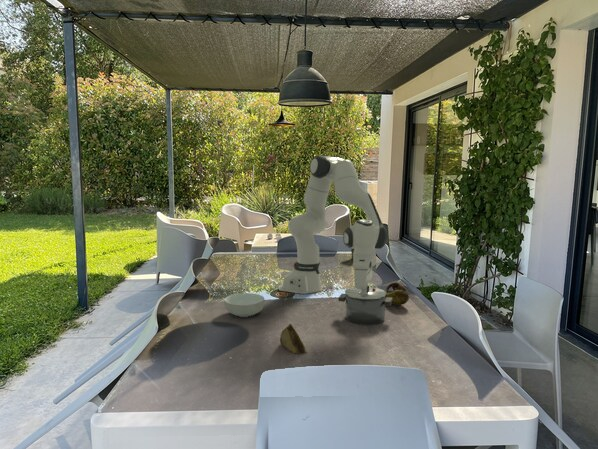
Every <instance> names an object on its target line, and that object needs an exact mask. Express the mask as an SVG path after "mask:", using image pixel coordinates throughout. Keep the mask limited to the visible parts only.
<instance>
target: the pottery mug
mask: <svg viewBox="0 0 598 449" xmlns="http://www.w3.org/2000/svg"><path fill="white" fill-rule="evenodd" d="M390 288H392V290H390ZM385 289H386V291H385V292H386V294H387V293H390V292H393V291H395V290H404V291H406V292H407V289H406V288H405V287H404V285H403V284H401V283H400V282H397V281H396V282H391V283H390V284H388V286H386V288H385Z"/></svg>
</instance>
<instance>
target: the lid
mask: <svg viewBox="0 0 598 449" xmlns="http://www.w3.org/2000/svg"><path fill="white" fill-rule="evenodd" d="M344 292H345V293H344V294H346V295H347V296H349V297H352V298H356V299H366V300H371V299H380V298H384V297H385V296H386V292H387V291H385V289H381V288H376V287H373V286H371V287H370V285H368V286H367V293H366V295H362V294H361V289H357V288H356V287H355V286H354V287H349V288H346V290H344Z"/></svg>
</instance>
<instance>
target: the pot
mask: <svg viewBox="0 0 598 449" xmlns="http://www.w3.org/2000/svg"><path fill="white" fill-rule="evenodd" d="M338 302H343V303H344V302H345V320H346V321H348V322H349V323H352V324H356V325H361V326H371V325H372V326H373V325H379V324H382V323H383V322H385V319H386V316H385V315H386V306H389V307H391V305H392V298H390V297H386V299H385V297H384V298H380V299H371V300H366V299H356V298H352V297H349V296H347V295H346V294H345V293H341V294H340V295H339V296H338Z"/></svg>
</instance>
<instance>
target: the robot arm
mask: <svg viewBox="0 0 598 449" xmlns="http://www.w3.org/2000/svg"><path fill="white" fill-rule="evenodd" d="M309 164H310V165H309V172H310V177H309V180H308V182H307V186H306V190H305V193H304V198H303V203H304V204H305V213H303V214H298V215H296V216H294V217H291V219H289V221H288V222H287V223H288V224H287V229H288V231H289V233H290V235H291V236H292V237H293V238H294V240H295V243H296V250H297V252H296V253H297V254H296V255H297V260H296V261H295V262H294V263H293V266H292V267H293V269H292V270H290V272H288V273H287V274H286V275H285V276H283V281H282V283H281V284H279V285H278V291H281V292H287V293H288V292H289V293H294V294H301V295H307V294H311V293H312V294H313V293H318V292H321V291H323V287H322V282H321V262H320V247H319V244H317V243H316V240H315V237H314V235H317V234H320V233H322V232H324V230H326V229H327V227H328V218H327V217H326V206H327V205H326V204H327V200H328V196H329V193H330V189H331V184H332V183H333V187H334V190H335V191H334V192H335V194H336V196H337V198H338V199H339V200H340V201H342V202H343V203H345V204H349V205H351V206H355V207H357V208H359V209H361V210H362V211H363V212H364V214H365V216H366V218H367V219H366V218H362V219H357V220H355V222H354V224H353V225H350V226H347V227H346V228H345V230H344V231H343V244H344V245H345V246H346V247H347V248H349V249H350V250H351V249H354V253H353V261H352V269H354V270H353V272H354V273H353V276H354V277H353V278H354V287H356V288H357V289H361V294H362V295H366V293H367V286H369V285H368V284H369V283H370V281H371V279H372V278H373V267H374V266H376V264H377V262H376V261H377V260H376V259H377V258H376V257H377V256H376V254H377V250H376V249H378V250H379V249H382V248H384V247H385V246H386V245H387V243H388V241H389V234H388V230H387V229H386V227H385V225H384V224H383V222H382V220H381V217H380V215H379V213H378V210H377V208H376V205H375V202H374V200H373V198H372V196H371V194H370V193H369V192H367V191H366V190H365V189H364V188H363V187H362V185H361V183H360V179H359V175H358V173H357V170H356V165H355V163H354V162H353V161H351V160H349V159H344V158H340V157H337V156H325V155H316V156H314V157H313V158H312V159H311V161H310V163H309Z"/></svg>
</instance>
